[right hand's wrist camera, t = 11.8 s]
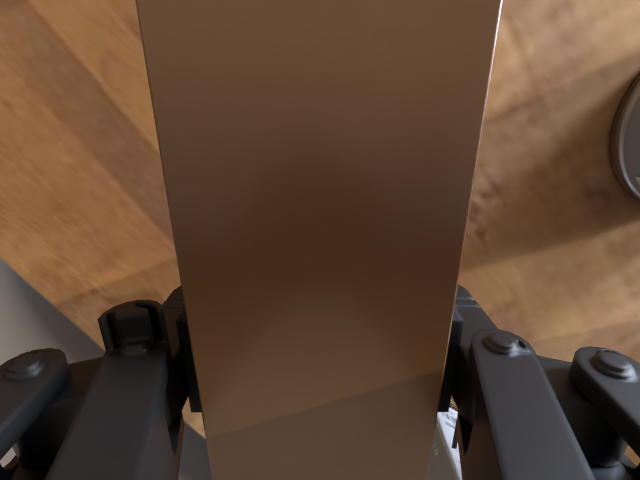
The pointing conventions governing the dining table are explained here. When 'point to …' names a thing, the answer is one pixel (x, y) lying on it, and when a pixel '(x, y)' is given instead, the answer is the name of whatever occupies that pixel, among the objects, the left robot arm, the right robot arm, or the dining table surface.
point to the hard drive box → (445, 449)
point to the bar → (319, 219)
